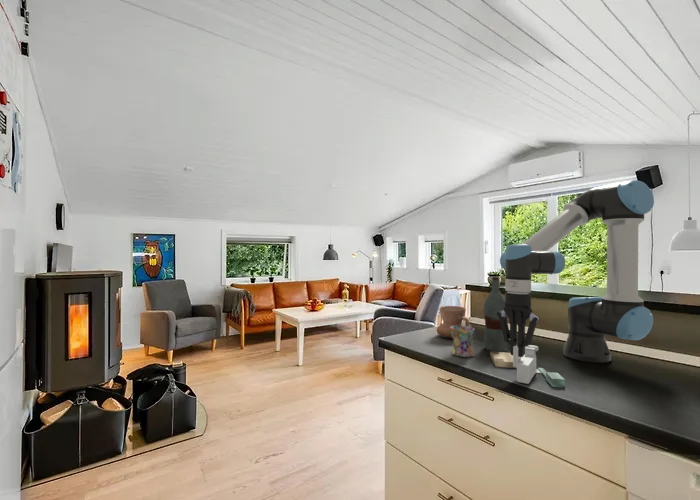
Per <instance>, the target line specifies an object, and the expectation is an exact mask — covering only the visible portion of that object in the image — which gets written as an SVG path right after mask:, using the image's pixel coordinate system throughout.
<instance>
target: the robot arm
mask: <svg viewBox="0 0 700 500" xmlns="http://www.w3.org/2000/svg"><path fill="white" fill-rule="evenodd" d="M654 204H655V198H654V194H653V192H652V189H651V188H650V186H648V185H647V184H646V183H645V182H644V181H640V180H635V179H634V180H626V181H625V180H624V181H620V182H616V183H610V184H607V185H601V186H596V187H593V188H590V189H588V190H586V191H585V192H582V193H581V194H580V195H577V197H575V198H574V199H572V200H571V201H570V202H569V203H567V204H566V205H565V206H564V207H563V208H562V211H561V213H559V214H558V215H557V216H555V217H554V218H553V219H552V220H550V221H549V222H547V223H546V224H545V225H544V226H543V227H542V228H540V229H539V230H538V231H537V232H535V233H534V234H533V235H531V236H529V238H528V239H526V240H525V241H524V242H522V244H517V243H516V244H514V243H513V244H508V245H507V246H506V247H505V251H504V252H503V253H502V254H501V256H500V258H499V263H500V267H501V268H502V269H503V270H504V271H505V273H504V274H505V281H504V282H505V283H504V285H505V286H504V289H505V291H506V292H505V293H504V298H505V307H504V310H502V311H501V312H497V316H498V318H499V319H500V323H501V328H502V332H503V337H504V341H505V342H507V343H508V344H509V345H510V352H509V353H510V354H511V355H513V367H517V363H518V362H519V361H520V359H521V357H523V356H524V354H525V346H528V345H532V341H533V336H534V333H535V330H536V327H537V324H538V322H539V321H540V320H541V317H540V316H537V315H536V314H534V313H533V310H532V295H531V292H532V275H534V274H535V275H537V274H538V275H553V274H554V275H555V274H559V273H561V272H563V271H564V269H565V267H566V259H565V256H564V255H563V254H562V253H561V252H559V251H557V250H556V251H554V250H550V249H552V248H553V247H554V246H555V245H556V244H558V243H559V242H561V241H562V239H564V238H565V237H566V236H567V235H568V236H569V234H571V232H572V231H574V230H575V229H577V227H580V226H581V227H583V226H584V225H586V224H587V223H588V222H590V221H592V220H593V221H594V220H596V219H601V222H602V223H604V224H605V225H606V237H607V238H606V293H605V294H604V295H603V296H592V297H591V296H588V297H587V296H584V297H583V296H582V297H580V296H579V297H571V298H570V299H569V300H568V305H567V306H568V307H567V317H568V318H567V320H568V321H567V322H568V324H567V325H568V335H567V338H566V341H565V343H564V346H563V355H564V356H565V357H567V358H570V359H573V360H577V361H581V362H588V363H596V364H597V363H601V364H602V363H604V364H605V363H609V361H610V362H611V361H612V354H611V352H610V349H609V346H608V344H607V340H606V336H611V337H615V338H619V339H621V340H627V341H628V340H629V341H640V340H642V339H643V338H646V337H647V335H648V334H649V333H650V332H651V330H652V328H653V324H654V315H653V313H652V311H651V310H650V309H649V308H647V307H645V305H644V304H645V303H644V301H645V300H644V299H642V298H641V297H640V295H639V225H640V224H641V223H643V221H645V215H646V214H648V213H650V212H651V210H652V209H653V208H654ZM506 315H507V319H506ZM528 319H529V321H530V322H529V324H528V326H527V331H526V324H527V323H526V322H527V321H528ZM508 320H509V321H508ZM508 323H509V324H508Z"/></svg>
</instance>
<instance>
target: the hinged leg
mask: <svg viewBox="0 0 700 500" xmlns="http://www.w3.org/2000/svg"><path fill="white" fill-rule="evenodd" d="M538 351H539V346H537V345H532V344H530V345H528V346H525V347H524V354H525V355H524V356H523V357H522V358H521V359H520V361H519V362H518V363H517V368H516V382H518V383H522V384H527V385H528V384H530V383H531V381H532V379H533V377H534V376H535V375H536V374H537V373H536V369H537V355H536V352H538Z"/></svg>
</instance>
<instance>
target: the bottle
mask: <svg viewBox="0 0 700 500" xmlns="http://www.w3.org/2000/svg"><path fill="white" fill-rule="evenodd" d="M491 279H492V281H491V282H492V283H491V286H492V287H491V291H490V292H489V293H488V295H487V297H486V298H485V300H484V305H483V313H484V324H485V327H484V335H483V342H484V347H485V349H486V350H487V351H490V352H507V349H508V344H509V343H507V342H505V341H504V337H503V332H502V328H501V323H500V319H499V318H498V316H497V312H501V311H502V310H504V307H505V296H503V294H502V293H501V291H500V277H499V276H492V277H491ZM506 319H507V320H508V316H507V315H506Z"/></svg>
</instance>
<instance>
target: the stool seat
mask: <svg viewBox="0 0 700 500" xmlns="http://www.w3.org/2000/svg"><path fill="white" fill-rule="evenodd" d="M489 353H490V355H489V357H490V359H491V360H492V363H493V364H494V366H495V367H496V368H509V369H510V368H512V369H517V367H513V355H511V354H510V352H506V351H504V352H495V351H490V352H489ZM524 355H525V353H524ZM521 358H522V357H521ZM535 374H541V375H543V377H544V378H545V381H546V382H547V383H549V385H550V386H551V387H554V388H565V387H566V379H565V378H564V377H563V376H562V375H560V374H559V373H558V372H553V371H552V372H550V371H547V370H546V369H545V368H543V367H537V368H536V373H535Z"/></svg>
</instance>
